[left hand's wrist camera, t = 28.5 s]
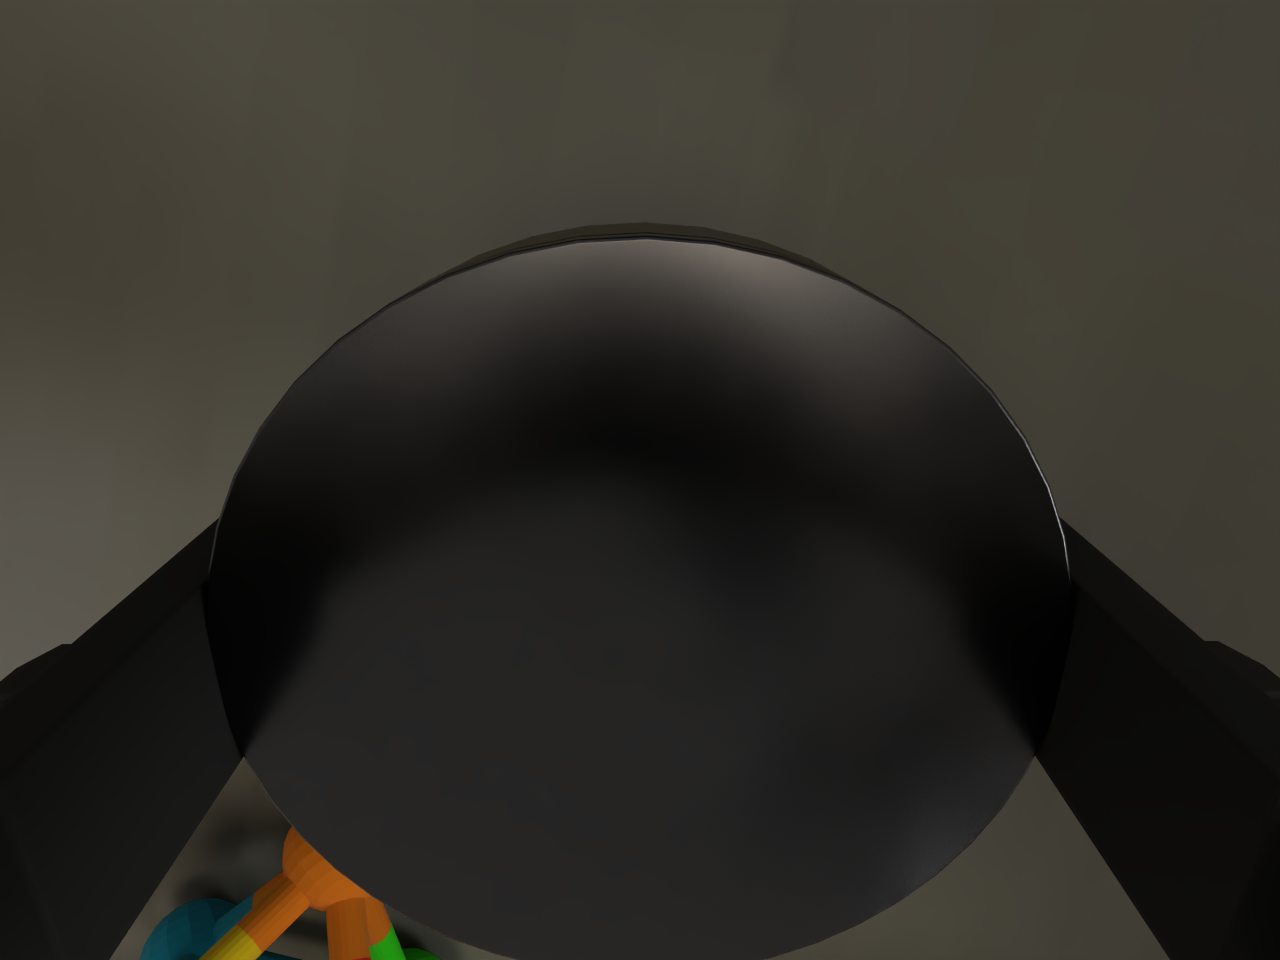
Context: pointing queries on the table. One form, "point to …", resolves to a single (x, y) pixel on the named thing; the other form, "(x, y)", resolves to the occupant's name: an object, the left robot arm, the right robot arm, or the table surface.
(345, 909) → the molecular model
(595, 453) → the lid
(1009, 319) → the table surface
